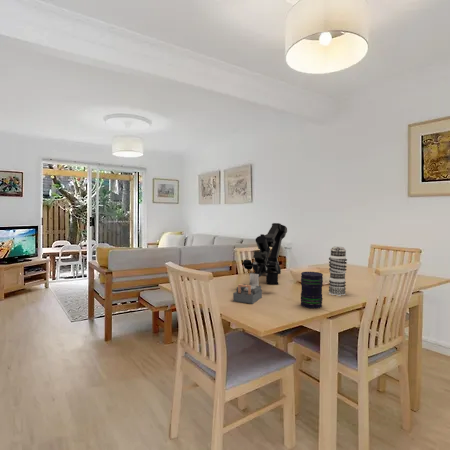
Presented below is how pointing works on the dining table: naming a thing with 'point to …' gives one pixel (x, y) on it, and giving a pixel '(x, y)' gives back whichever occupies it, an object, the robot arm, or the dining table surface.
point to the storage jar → (311, 289)
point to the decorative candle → (337, 271)
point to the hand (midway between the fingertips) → (256, 278)
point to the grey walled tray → (247, 295)
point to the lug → (244, 286)
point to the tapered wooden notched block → (253, 281)
